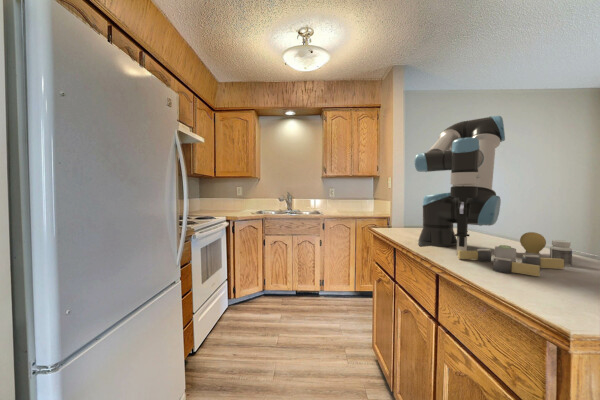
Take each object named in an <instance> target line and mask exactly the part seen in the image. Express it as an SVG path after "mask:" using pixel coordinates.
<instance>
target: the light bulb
mask: <svg viewBox="0 0 600 400" xmlns="http://www.w3.org/2000/svg"><path fill="white" fill-rule="evenodd" d="M519 243H520V245H521V246H522V248H523V249H524V255H538V256H539V257H540V258H541V253H540V252H541V251H543V249H544V248H545V247H546V245H547V240H546V238H545V237H544V235H542V234H541V233H538V232H533V231H529V232H525V233H523V234H522V235H521V236H520V238H519Z"/></svg>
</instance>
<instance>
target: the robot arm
mask: <svg viewBox="0 0 600 400" xmlns="http://www.w3.org/2000/svg"><path fill="white" fill-rule="evenodd" d="M505 133H506V132H505V127H504V120H503V117H502V116H501V115H493V116H492V115H491V116H488V117H487V116H486V117H482V118H474V119H471V120H470V119H469V120H463V121H459V122H457V123H454V124H452V125H450V126H449V127H447V128H445V129H444V130H442V131H441V133H440V134H438V137H437V140H436V141H435V143H434V144H433V145H432V146H431V147H430V148H429V150H428V151H427V152H422V153H417V154H416V155H415V157H414V167H415V170H416V171H417V172H420V173H421V172H422V173H423V172H425V173H429V172H442V171H443V172H444V171H450V185H451V187H450V192H443V193H442V192H441V193H433V194H427V195H425V196H424V197H423V201H422V229H421V233H420V234H419V238H418V241H417V242H418V244H417V245H418V246H419V247H422V248H424V247H437V248H454V247H456V256H458V250H464V251H468V250H467V248H468V237H470V233H469V232H468V226H469V225H470V226H479V227H482V226H488V227H489V226H494V225H495V224H496V223H497V221H498V220H499V219H498V218H499V215H500V209H501V203H502V202H501V196H499V195H497V193H496V191H495V190H494V189H493V179H494V170H495V169H494V168H495V158H496V157H495V156H496V149H497V148H498V147H499V146H500V144H501V143H502V142H504V141H505V140H506V136H505V135H506V134H505ZM454 224H456V234H455V231H454Z"/></svg>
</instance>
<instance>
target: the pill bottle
mask: <svg viewBox="0 0 600 400" xmlns="http://www.w3.org/2000/svg"><path fill="white" fill-rule="evenodd" d="M571 245H572V244H571V241H569V240H561V239H552V240H551V246H550V247H549V258H558V259H563V260H564V267H566V266H568V267H569V266H570V267H571V266H573V249H572V248H571Z"/></svg>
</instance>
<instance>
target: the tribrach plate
mask: <svg viewBox="0 0 600 400" xmlns="http://www.w3.org/2000/svg"><path fill="white" fill-rule="evenodd" d="M494 257H499V258H506V259H511V260H512V262H517V248H515V247H512V246H510V245H502V244H500V245H497V246H496V245H495V246H494Z"/></svg>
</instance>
